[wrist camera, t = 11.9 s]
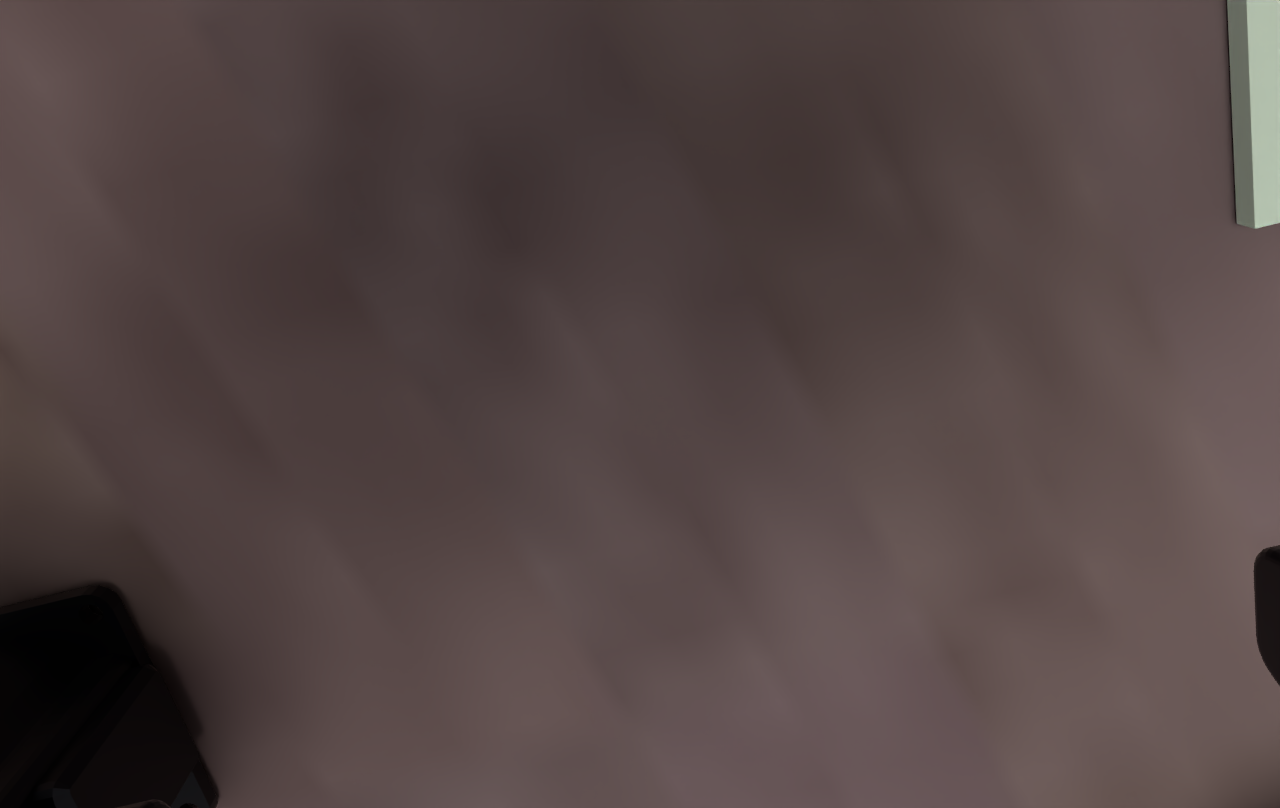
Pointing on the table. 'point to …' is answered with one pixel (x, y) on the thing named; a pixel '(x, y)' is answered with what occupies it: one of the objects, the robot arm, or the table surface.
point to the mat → (1255, 109)
